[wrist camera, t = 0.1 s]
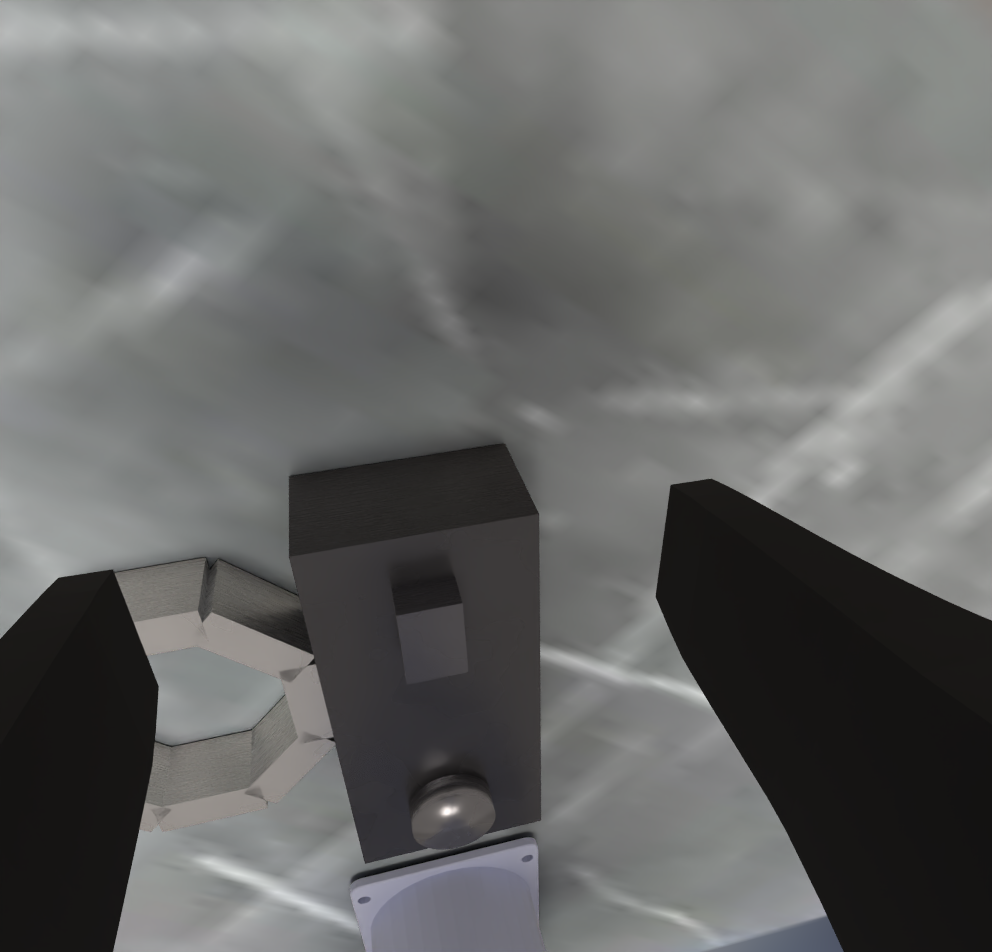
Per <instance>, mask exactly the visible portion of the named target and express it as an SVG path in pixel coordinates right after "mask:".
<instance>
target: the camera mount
mask: <svg viewBox="0 0 992 952" xmlns="http://www.w3.org/2000/svg"><path fill="white" fill-rule="evenodd" d="M289 559H290V563H291V567H292V571H293V575H294V579H295V583H296V587H297V591H298V595H299V596H297V595H294V594H292V593H290V592H288V591H286V590H284V589H282V588H279V587H277V586H275V585H273V584H271V583H269V582H266V581H264V580H262V579H260V578H258V577H256V576H254V575H251V574H249V573H247V572H245V571H243V570H241V569H239V568H236V567H234V566H232V565H230V564H228V563H226V562H223V561H221V560H219V559H218V560H217V561H216V562H215V564H214V565H213V566H212V567H211V568H210V569H209V566H208V563H207V560H206V557H205V558H200V559H194V560H188V561H182V562H176V563H170V564H164V565H158V566H152V567H146V568H140V569H134V570H129V571H123V572H117V573H115V576H116V578H117V581H118V584H119V586H120V589H121V591H122V594H123V596H124V599H125V602H126V604H127V607H128V609H129V612H130V614H131V617H132V620H133V622H134V625H135V627H136V630H137V632H138V635H139V637H140V640H141V643H142V645H143V648H144V650H145V653H146V655H147V656H148V655H154V654H159V653H164V652H170V651H175V650H180V649H186V648H191V647H196V646H198V647H200V648H203V649H205V650H208V651H210V652H213V653H215V654H218V655H220V656H223V657H226V658H228V659H231V660H233V661H236V662H238V663H241V664H243V665H246V666H249V667H251V668H254V669H256V670H259V671H261V672H264V673H266V674H269V675H271V676H274V677H277V678H279V679H281V681H282V684H283V688H284V691H285V694H286V695H285V696H284V697H283V698H282V699H281V700H280V701H279V702H278V703H277V704H276V705H275V706H274V707H273V709H272V710H271V711H270V712H269V713H268V714H267V715H266V716H265V717H264V718H263V719H262V720H261V721H260V722H259V723H258V724H257V726H256V727H255V728H254V729H253V730H251V731H246V732H242V733H237V734H232V735H227V736H222V737H218V738H213V739H208V740H203V741H199V742H194V743H189V744H184V745H180V746H175V747H169V746H166V745H163V744H160V743H156V742H155V744H154V755H153V765H152V770H151V775H150V780H149V785H148V790H147V795H146V800H145V805H144V809H143V814H142V819H141V824H140V830H144V831H148V832H151V831H152V830H153V829H154V828H155V827H156V826H157V825H158V824H159V826H160V828H161V830H162V832H165V831H169V830H174V829H178V828H183V827H187V826H191V825H196V824H200V823H205V822H209V821H213V820H218V819H222V818H226V817H231V816H235V815H240V814H244V813H248V812H253V811H257V810H261V809H266V808H268V801H270V802H273V803H278V802H279V801H280V800H281V799H282V798H283V797H284V796H285V795H286V794H287V793H288V792H289V791H290V790H291V789H292V788H293V787H294V786H295V785H296V784H297V783H298V782H299V781H300V780H301V779H302V778H303V777H304V776H305V775H306V774H307V773H308V772H309V771H310V770H311V769H312V768H313V767H314V766H315V765H316V764H317V763H318V762H319V761H320V760H321V759H322V758H323V757H324V756H325V755H326V754H327V753H328V752H329V751H330V750H331V749H332V748H333V747H334V746H335V745H336V748H337V752H338V756H339V760H340V765H341V769H342V773H343V777H344V781H345V785H346V789H347V793H348V797H349V801H350V805H351V809H352V813H353V817H354V821H355V825H356V829H357V833H358V837H359V841H360V845H361V849H362V853H363V857H364V861H365V864H366V863H370V862H374V861H378V860H382V859H386V858H390V857H394V856H398V855H402V854H406V853H411V852H415V851H419V850H423V849H427V848H431V849H452V848H457V847H460V846H464V845H466V844H469V843H471V842H473V841H475V840H477V839H478V838H480V837H481V836H483V835H484V834H488V833H492V832H496V831H500V830H504V829H508V828H512V827H516V826H520V825H524V824H528V823H532V822H536V821H540V820H541V741H540V595H539V513H538V511H537V509H536V507H535V505H534V503H533V501H532V499H531V497H530V495H529V492H528V490H527V488H526V486H525V484H524V482H523V480H522V478H521V476H520V474H519V472H518V470H517V468H516V466H515V464H514V462H513V459H512V457H511V455H510V453H509V451H508V449H507V447H506V445H505V444H499V445H493V446H486V447H480V448H473V449H467V450H460V451H454V452H447V453H441V454H434V455H428V456H421V457H415V458H408V459H402V460H395V461H389V462H382V463H376V464H369V465H363V466H356V467H350V468H343V469H337V470H330V471H324V472H317V473H311V474H304V475H298V476H291V477H289Z"/></svg>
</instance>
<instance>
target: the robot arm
mask: <svg viewBox="0 0 992 952" xmlns="http://www.w3.org/2000/svg"><path fill="white" fill-rule="evenodd" d="M656 599H657V601H658V603H659V606H660V608H661V611H662V613H663V615H664V618H665V620H666V622H667V625H668V627H669V630H670V632H671V634H672V636H673V638H674V641H675V643H676V645H677V647H678V649H679V651H680V654H681V656H682V658H683V660H684V661H685V663H686V665H687V667H688V668H689V670H690V672H691V673H692V675H693V677H694V678H695V680H696V682H697V683H698V685H699V687H700V688H701V690H702V692H703V693H704V695H705V697H706V698H707V700H708V702H709V703H710V705H711V707H712V708H713V710H714V712H715V713H716V715H717V716H718V718H719V720H720V721H721V723H722V724H723V726H724V728H725V729H726V731H727V733H728V734H729V736H730V737H731V739H732V741H733V742H734V744H735V746H736V747H737V749H738V750H739V752H740V754H741V755H742V757H743V759H744V760H745V762H746V763H747V765H748V767H749V768H750V770H751V772H752V773H753V775H754V777H755V778H756V780H757V781H758V783H759V785H760V786H761V788H762V790H763V791H764V793H765V794H766V796H767V798H768V799H769V801H770V803H771V805H772V807H773V808H774V810H775V812H776V814H777V815H778V817H779V819H780V821H781V823H782V824H783V826H784V828H785V830H786V832H787V834H788V836H789V838H790V840H791V842H792V844H793V846H794V848H795V850H796V852H797V854H798V856H799V858H800V860H801V862H802V864H803V866H804V868H805V871H806V873H807V875H808V877H809V879H810V881H811V883H812V885H813V887H814V889H815V891H816V893H817V895H818V897H819V899H820V901H821V903H822V905H823V908H824V910H825V912H826V914H827V916H828V919H829V921H830V923H831V925H832V927H833V929H834V932H835V934H836V936H837V938H838V940H839V942H840V945H841V947H842V949H843V951H844V952H992V621H991V620H989V619H986V618H984V617H982V616H979V615H977V614H974V613H972V612H970V611H968V610H966V609H963V608H961V607H959V606H957V605H954V604H952V603H950V602H948V601H945V600H943V599H941V598H939V597H937V596H935V595H933V594H931V593H929V592H927V591H925V590H923V589H920V588H918V587H916V586H914V585H912V584H910V583H908V582H906V581H904V580H902V579H900V578H898V577H896V576H894V575H892V574H890V573H888V572H886V571H884V570H882V569H880V568H878V567H876V566H874V565H872V564H870V563H868V562H866V561H864V560H862V559H860V558H859V557H857V556H855V555H853V554H851V553H849V552H847V551H845V550H843V549H842V548H840V547H838V546H836V545H834V544H832V543H831V542H829V541H827V540H825V539H823V538H821V537H819V536H818V535H816V534H814V533H812V532H810V531H809V530H807V529H805V528H803V527H801V526H800V525H798V524H796V523H794V522H792V521H791V520H789V519H787V518H785V517H783V516H782V515H780V514H778V513H776V512H774V511H773V510H771V509H769V508H767V507H765V506H764V505H762V504H760V503H758V502H756V501H754V500H753V499H751V498H749V497H747V496H745V495H743V494H741V493H740V492H738V491H736V490H734V489H732V488H730V487H728V486H726V485H724V484H722V483H720V482H718V481H715V480H713V479H706V480H700V481H693V482H687V483H680V484H673V485H671V486H670V494H669V501H668V509H667V516H666V523H665V531H664V538H663V546H662V553H661V561H660V568H659V575H658V583H657V590H656ZM158 688H159V686H158V684H157V681H156V679H155V676H154V673H153V671H152V668H151V666H150V663H149V661H148V658H147V655H146V653H145V650H144V648H143V645H142V643H141V640H140V637H139V635H138V632H137V630H136V627H135V625H134V622H133V620H132V617H131V614H130V612H129V609H128V607H127V604H126V602H125V599H124V596H123V594H122V591H121V589H120V586H119V584H118V581H117V578H116V576H115V573H114V571H113V570H107V571H100V572H94V573H87V574H80V575H74V576H67V577H61V578H58V579H57V580H56V581H55V582H54V583H53V584H52V585H51V586H50V587H49V588H48V589H47V590H46V591H45V592H44V593H43V594H42V595H41V596H40V597H39V598H38V599H37V600H36V601H35V602H34V603H33V604H32V605H31V606H30V608H29V609H28V610H27V611H26V612H25V613H24V614H23V615H22V616H21V617H20V618H19V619H18V620H17V622H16V623H15V624H14V625H13V626H12V627H11V628H10V629H9V630H8V631H7V632H6V633H5V634H4V636H3V637H2V638H1V639H0V952H113V949H114V945H115V940H116V935H117V931H118V926H119V921H120V917H121V912H122V907H123V903H124V898H125V894H126V889H127V884H128V880H129V875H130V870H131V866H132V861H133V856H134V852H135V847H136V843H137V838H138V833H139V829H140V824H141V819H142V814H143V809H144V805H145V800H146V795H147V790H148V785H149V780H150V775H151V770H152V765H153V755H154V744H155V733H156V719H157V704H158ZM350 897H351V900H352V904H353V907H354V911H355V915H356V918H357V922H358V925H359V929H360V932H361V936H362V940H363V943H364V947H365V950H366V952H546V949H545V945H544V942H543V938H542V934H541V931H540V927H539V878H538V846H537V843H536V840H535V839H534V838H532V837H525V838H521V839H517V840H513V841H509V842H505V843H501V844H497V845H493V846H489V847H485V848H481V849H477V850H473V851H469V852H465V853H461V854H457V855H453V856H449V857H445V858H441V859H437V860H433V861H429V862H425V863H421V864H417V865H413V866H408V867H404V868H400V869H396V870H392V871H388V872H384V873H380V874H376V875H372V876H368V877H364V878H360V879H358V880H355V881H354V882H353V883H352V884H351V885H350Z"/></svg>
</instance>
